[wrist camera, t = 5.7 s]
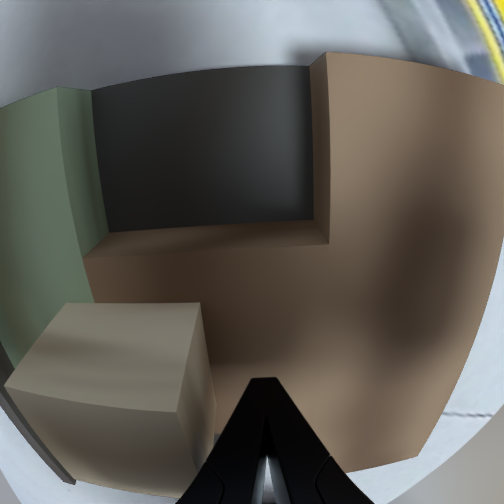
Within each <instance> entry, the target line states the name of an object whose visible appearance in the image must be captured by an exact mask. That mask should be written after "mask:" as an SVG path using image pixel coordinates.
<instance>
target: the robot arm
mask: <svg viewBox="0 0 504 504" xmlns="http://www.w3.org/2000/svg"><path fill="white" fill-rule="evenodd" d="M330 455H331V454H330V453H329V451H328V450H327V449H326V447H325V446H324V444H323V443H322V442H321V440H320V439H319V437H318V436H317V434H316V433H315V432H314V430H313V429H312V427H311V426H310V425H309V423H308V422H307V420H306V419H305V417H304V416H303V415H302V413H301V412H300V410H299V409H298V407H297V406H296V404H295V403H294V401H293V400H292V399H291V397H290V396H289V394H288V393H287V391H286V390H285V388H284V387H283V385H282V384H281V382H280V381H279V379H278V378H277V377H256V378H251V379H250V381H249V383H248V385H247V387H246V389H245V390H244V392H243V394H242V396H241V398H240V400H239V402H238V404H237V405H236V407H235V409H234V411H233V413H232V415H231V416H230V418H229V420H228V422H227V424H226V425H225V427H224V429H223V431H222V433H221V434H220V436H219V438H218V440H217V441H216V443H215V445H214V447H213V448H212V450H211V452H210V454H209V455H208V457H207V459H206V462H204V464H203V466H202V467H201V469H200V471H199V472H198V474H197V475H196V477H195V478H194V480H193V482H192V483H191V485H190V486H189V487H188V489H187V490H186V491H185V492H184V494H183V495H182V496H181V498H180V499H179V500H178V501H177V502H176V503H175V504H262V496H263V488H264V479H265V469H266V460H267V457H268V462H269V468H270V473H271V478H272V483H273V488H274V494H275V499H276V504H375V503H374V502H372V501H371V500H370V499H369V498H368V497H367V496H366V495H365V494H364V493H363V492H362V491H361V490H360V489H359V488H358V487H357V486H356V485H355V484H354V483H353V482H352V481H351V479H350V478H349V477H348V476H347V475H346V474H345V472H344V471H343V470H342V469H341V467H340V466H339V465H338V463H337V462H336V461H335V459H334V458H333V457H332V456H330Z"/></svg>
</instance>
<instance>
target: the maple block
mask: <svg viewBox="0 0 504 504" xmlns="http://www.w3.org/2000/svg"><path fill="white" fill-rule="evenodd" d="M4 387H5V389H6V390H7V392H8V394H9V395H10V397H11V398H12V400H13V401H14V403H15V404H16V406H17V407H18V409H19V410H20V412H21V413H22V415H23V416H24V418H25V419H26V420H27V422H28V423H29V425H30V426H31V427H32V429H33V430H34V431H35V433H36V434H37V435H38V437H39V438H40V439H41V441H42V442H43V443H44V444H45V446H46V447H47V448H48V449H49V451H50V452H51V453H52V454H53V455H54V457H55V458H56V459H57V460H58V461H59V463H60V464H61V465H62V466H63V467H64V468H65V469H66V471H67V472H68V473H69V474H70V475H71V476H72V477H73V478H74V479H76V480H79V481H83V482H87V483H91V484H95V485H100V486H104V487H109V488H114V489H119V490H124V491H129V492H135V493H142V494H148V495H156V496H164V497H173V498H181V496H182V495H183V494H184V492H185V491H186V490H187V489H188V487H189V486H190V485H191V483H192V482H193V480H194V478H195V477H196V475H197V474H198V472H199V471H200V469H201V467H202V466H203V464H204V462H206V459H207V457H208V455H209V454H210V452H211V450H212V448H213V443H214V430H215V418H216V407H217V404H216V399H215V393H214V388H213V382H212V376H211V370H210V365H209V358H208V352H207V346H206V340H205V333H204V327H203V320H202V313H201V306H200V302H198V303H66V304H65V305H64V306H63V307H62V309H61V310H60V311H59V312H58V313H57V315H56V316H55V317H54V318H53V320H52V321H51V322H50V323H49V325H48V326H47V327H46V329H45V330H44V331H43V332H42V334H41V335H40V336H39V338H38V339H37V340H36V341H35V343H34V344H33V345H32V347H31V348H30V349H29V351H28V352H27V354H26V355H25V356H24V358H23V359H22V360H21V362H20V363H19V364H18V366H17V367H16V369H15V370H14V372H13V373H12V374H11V376H10V377H9V379H8V380H7V382H6V383H5V384H4Z"/></svg>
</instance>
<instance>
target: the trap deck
mask: <svg viewBox="0 0 504 504" xmlns="http://www.w3.org/2000/svg"><path fill="white" fill-rule="evenodd" d="M503 237H504V85H502V84H499V83H496V82H493V81H489V80H486V79H483V78H479V77H476V76H472V75H469V74H465V73H461V72H457V71H453V70H449V69H445V68H440V67H436V66H431V65H426V64H421V63H416V62H410V61H404V60H398V59H392V58H385V57H377V56H369V55H359V54H349V53H336V52H325V53H324V54H323V55H322V56H321V57H319V58H318V59H317V60H316V61H315V62H313V63H312V64H311V65H310V66H254V67H236V68H222V69H211V70H201V71H193V72H185V73H177V74H170V75H164V76H158V77H152V78H146V79H141V80H136V81H131V82H126V83H121V84H116V85H112V86H108V87H103V88H99V89H95V90H83V89H74V88H65V87H54V88H51V89H49V90H46V91H43V92H40V93H37V94H35V95H32V96H29V97H27V98H24V99H21V100H19V101H16V102H14V103H12V104H9V105H7V106H4V107H2V108H0V406H1V407H2V409H3V410H4V411H5V413H6V414H7V416H8V417H9V418H10V420H11V421H12V422H13V424H14V425H15V426H16V428H17V429H18V430H19V432H20V433H21V434H22V435H23V437H24V438H25V439H26V440H27V442H28V443H29V444H30V445H31V446H32V448H33V449H34V450H35V451H36V452H37V454H38V455H39V456H40V457H41V458H42V459H43V460H44V462H45V463H46V464H47V465H48V466H49V467H50V468H51V469H52V470H53V471H54V472H55V473H56V475H57V476H58V477H59V478H60V479H61V480H62V481H63V482H66V483H69V484H73V485H75V483H76V479H74V478H73V477H72V476H71V475H70V474H69V473H68V472H67V471H66V469H65V468H64V467H63V466H62V465H61V464H60V463H59V461H58V460H57V459H56V458H55V457H54V455H53V454H52V453H51V452H50V451H49V449H48V448H47V447H46V446H45V444H44V443H43V442H42V441H41V439H40V438H39V437H38V435H37V434H36V433H35V431H34V430H33V429H32V427H31V426H30V425H29V423H28V422H27V420H26V419H25V418H24V416H23V415H22V413H21V412H20V410H19V409H18V407H17V406H16V404H15V403H14V401H13V400H12V398H11V397H10V395H9V394H8V392H7V390H6V389H5V387H4V384H5V383H6V382H7V380H8V379H9V377H10V376H11V374H12V373H13V372H14V370H15V369H16V367H17V366H18V364H19V363H20V362H21V360H22V359H23V358H24V356H25V355H26V354H27V352H28V351H29V349H30V348H31V347H32V345H33V344H34V343H35V341H36V340H37V339H38V338H39V336H40V335H41V334H42V332H43V331H44V330H45V329H46V327H47V326H48V325H49V323H50V322H51V321H52V320H53V318H54V317H55V316H56V315H57V313H58V312H59V311H60V310H61V309H62V307H63V306H64V305H65V304H66V303H198V302H200V306H201V313H202V320H203V327H204V333H205V340H206V346H207V352H208V358H209V365H210V370H211V376H212V382H213V388H214V393H215V399H216V404H217V407H216V418H215V430H214V443H213V447H214V445H215V443H216V441H217V440H218V438H219V436H220V434H221V433H222V431H223V429H224V427H225V425H226V424H227V422H228V420H229V418H230V416H231V415H232V413H233V411H234V409H235V407H236V405H237V404H238V402H239V400H240V398H241V396H242V394H243V392H244V390H245V389H246V387H247V385H248V383H249V381H250V379H251V378H256V377H277V378H278V379H279V381H280V382H281V384H282V385H283V387H284V388H285V390H286V391H287V393H288V394H289V396H290V397H291V399H292V400H293V401H294V403H295V404H296V406H297V407H298V409H299V410H300V412H301V413H302V415H303V416H304V417H305V419H306V420H307V422H308V423H309V425H310V426H311V427H312V429H313V430H314V432H315V433H316V434H317V436H318V437H319V439H320V440H321V442H322V443H323V444H324V446H325V447H326V449H327V450H328V451H329V453H330V454H331V455H330V456H332V457H333V458H334V459H335V461H336V462H337V463H338V465H339V466H340V467H341V469H342V470H343V471H344V472H345V473H348V472H354V471H359V470H364V469H369V468H373V467H378V466H382V465H386V464H391V463H394V462H398V461H402V460H406V459H409V458H413V457H416V456H418V454H419V453H420V451H421V449H422V448H423V446H424V444H425V443H426V441H427V439H428V438H429V436H430V434H431V432H432V431H433V429H434V427H435V425H436V423H437V422H438V420H439V418H440V416H441V414H442V412H443V410H444V408H445V406H446V404H447V402H448V400H449V398H450V396H451V394H452V392H453V390H454V388H455V386H456V383H457V381H458V379H459V377H460V375H461V372H462V370H463V368H464V365H465V363H466V360H467V358H468V356H469V353H470V350H471V348H472V345H473V343H474V340H475V337H476V335H477V332H478V329H479V326H480V323H481V320H482V317H483V314H484V311H485V308H486V305H487V302H488V298H489V295H490V291H491V288H492V284H493V281H494V277H495V273H496V269H497V265H498V260H499V256H500V252H501V247H502V242H503Z"/></svg>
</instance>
